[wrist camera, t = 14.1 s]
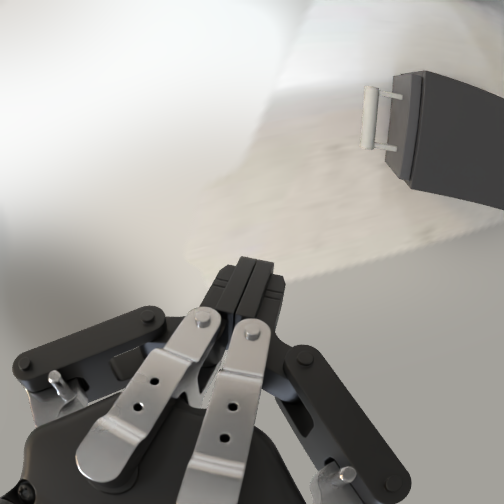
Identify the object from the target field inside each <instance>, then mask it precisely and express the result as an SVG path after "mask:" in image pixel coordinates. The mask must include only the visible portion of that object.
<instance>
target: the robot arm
mask: <svg viewBox="0 0 504 504" xmlns="http://www.w3.org/2000/svg"><path fill="white" fill-rule="evenodd" d="M273 269H274V263H273V262H268V261H263V260H258V261H257V259H253V258H248V257H243V256H241V257H240V259H239V261H238V263H237V265H236V266H232V265H227V266H225V267H224V268H222V269H221V270H220V271H219V273H218V275H217V276H216V279H215V280H214V282H213V283H212V285H211V287H210V289H209V291H208V292H207V294H206V296H205V298H204V299H203V301H202V303H201V305H200V307H198V308H194V309H192V310H191V311H189V312H188V313H187V315H186V316H183V317H165V314H164V312H163V311H162V310H161V309H160V308H158V307H156V306H144V307H141V308H138V309H136V310H133V311H131V312H129V313H126V314H123V315H120V316H118V317H115V318H113V319H110V320H107V321H105V322H102V323H100V324H97V325H95V326H92V327H89V328H87V329H84V330H81V331H79V332H76V333H74V334H71V335H68V336H66V337H63V338H61V339H58V340H56V341H53V342H50V343H47V344H45V345H42V346H39V347H37V348H34V349H31V350H29V351H26V352H24V353H22V354H20V355H19V356H18V357H17V358H16V359H15V361H14V363H13V367H12V370H13V374H14V376H15V377H16V378H17V379H18V381H19V382H20V383H21V384H22V385H23V387H24V389H25V390H26V391H27V393H28V398H29V403H30V407H31V411H32V415H33V419H34V423H35V427H36V429H34V431H32V432H31V434H30V435H29V436H28V438H27V440H26V443H25V447H24V462H23V470H22V474H21V478H20V480H19V482H18V483H17V485H16V486H15V487H14V488H13V489H11V490H10V491H9V492H8V493H6V494H5V495H3V496H2V497H0V504H306V502H305V500H304V499H303V497H302V495H301V493H300V491H299V490H298V488H297V486H296V484H295V482H294V480H293V478H292V477H291V475H290V473H289V471H288V469H287V467H286V465H285V463H284V461H283V459H282V458H281V455H280V454H279V452H278V450H277V448H276V446H275V445H274V443H273V442H272V440H271V439H270V438H269V437H268V436H267V435H266V434H265V433H264V432H263V431H261V430H260V429H258V428H257V427H255V426H254V424H255V419H256V414H257V409H258V404H259V399H260V393H261V389H263V390H265V391H267V392H268V393H270V394H272V395H273V396H275V399H276V402H277V404H278V405H279V407H280V409H281V410H282V412H283V414H284V416H285V417H286V419H287V421H288V422H289V424H290V426H291V427H292V429H293V431H294V433H295V434H296V436H297V438H298V439H299V441H300V443H301V444H302V446H303V447H304V449H305V451H306V452H307V454H308V455H309V457H310V459H311V460H312V462H313V464H314V465H315V467H316V469H317V470H318V472H317V473H316V474H315V475H314V476H313V478H312V479H311V482H310V491H311V494H312V496H313V504H396V503H398V502H400V501H402V500H403V499H404V498H405V497H406V496H407V495H408V493H409V491H410V489H411V477H410V474H409V473H408V471H407V470H406V469H405V467H404V466H403V465H402V463H401V462H400V461H399V459H398V458H397V457H396V455H395V454H394V452H393V451H392V450H391V448H390V447H389V446H388V444H387V443H386V442H385V440H384V439H383V437H382V436H381V435H380V433H379V432H378V431H377V429H376V428H375V427H374V425H373V424H372V423H371V421H370V420H369V418H368V417H367V416H366V414H365V413H364V412H363V410H362V409H361V408H360V406H359V405H358V403H357V402H356V401H355V399H354V398H353V397H352V395H351V394H350V393H349V391H348V390H347V389H346V387H345V386H344V384H343V383H342V382H341V380H340V379H339V377H338V376H337V375H336V373H335V372H334V371H333V369H332V368H331V367H330V365H329V364H328V362H327V361H326V360H325V358H324V357H323V356H322V354H321V353H320V352H319V351H318V350H317V349H315V348H314V347H312V346H309V345H297V346H294V347H291V346H289V345H287V344H285V343H283V342H282V341H281V340H280V339H279V338H278V337H277V335H276V333H275V329H276V326H277V322H278V318H279V314H280V310H281V306H282V301H283V295H284V290H285V285H286V284H285V281H284V278H283V276H280V275H275V274H273ZM136 347H137V348H136ZM134 348H135V349H134ZM131 349H133V350H131ZM129 350H130V351H129ZM225 350H228V351H227V354H226V358H225V361H224V365H223V368H222V370H221V369H220V370H219V372H218V374H217V377H216V381H215V384H214V388H213V390H212V394H211V397H210V400H209V404H208V407H207V409H201V405H202V401H203V398H204V396H205V394H206V392H207V390H208V388H209V386H210V384H211V382H212V381H213V379H214V377H215V375H216V373H217V371H218V369H219V367H220V365H221V359H222V357H223V354H224V352H225ZM127 351H128V352H127ZM124 352H125V353H124ZM122 353H123V354H122ZM119 354H120V355H119ZM117 355H118V356H117ZM114 356H116V357H114ZM123 388H125V389H124V390H123V392H119V393H117V394H114V395H112V396H110V397H108V398H106V399H103V400H101V401H99V402H96V403H94V404H92V405H90V406H88V403H89V402H91V401H94V400H97V399H99V398H102V397H104V396H107V395H109V394H112V393H114V392H116V391H119V390H121V389H123Z"/></svg>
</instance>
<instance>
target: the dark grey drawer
mask: <svg viewBox="0 0 504 504" xmlns="http://www.w3.org/2000/svg"><path fill="white" fill-rule="evenodd" d="M421 84H422V76H419V75H415V74H406V75H399V76H393V91H392V93H391V92H386V91H381V90H379V88H375V87H369V86H365V87H364V102H363V115H362V127H361V137H360V148H363V149H368V150H373V149H374V148H378V149H384V150H386V157H385V162H386V163H387V164H388V165H389V167H390V168H391V169H392V170H393V172H394V173H395V174H396V175H397V177H398V178H399V179H402V180H408V181H409V179H410V173H411V168H412V167H413V161H414V155H415V148H416V141H417V134H418V126H419V117H420V107H421V96H422V86H421ZM379 96H384V97H389V98H392V104H391V115H390V125H389V134H388V142H387V144H383V143H377V142H374V140H375V131H376V121H377V110H378V98H379Z"/></svg>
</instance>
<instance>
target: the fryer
mask: <svg viewBox="0 0 504 504" xmlns="http://www.w3.org/2000/svg"><path fill="white" fill-rule="evenodd" d="M406 74H415V75H419V76H422V84H421V86H422V96H421V107H420V117H419V126H418V134H417V141H416V148H415V155H414V161H413V167H412V168H411V173H410V179H409V181H408V180H404V181H405V182H406V183H407V185H408V186H409V187H410V189H414V190H419V191H424V192H429V193H434V194H439V195H444V196H449V197H453V198H458V199H462V200H466V201H470V202H475V203H479V204H483V205H487V206H490V207H494V208H498V209H502V210H504V99H503V98H501V97H499V96H496V95H494V94H492V93H489V92H487V91H484V90H482V89H479V88H477V87H474V86H472V85H469V84H466V83H463V82H461V81H458V80H455V79H452V78H449V77H446V76H442V75H439V74H436V73H432V72H429V71H420V72H412V73H405V74H401V75H406Z"/></svg>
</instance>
